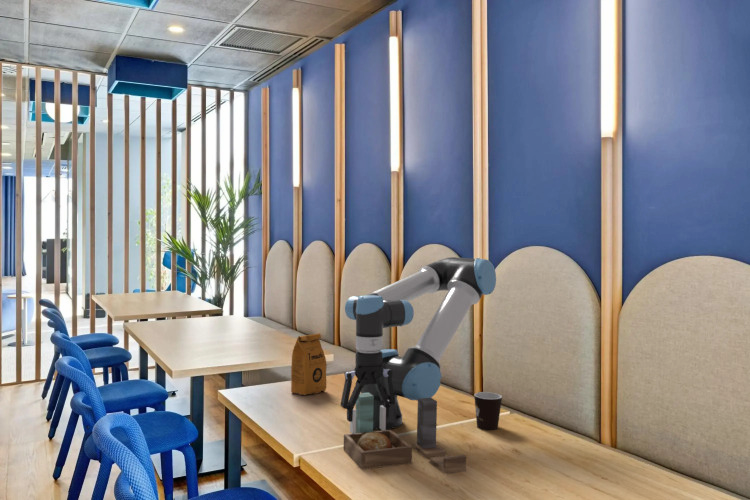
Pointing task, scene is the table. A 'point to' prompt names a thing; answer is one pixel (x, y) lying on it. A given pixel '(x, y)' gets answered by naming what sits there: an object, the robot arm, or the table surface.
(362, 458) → the open wooden tray
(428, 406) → the grey tall block
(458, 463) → the strip
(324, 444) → the table surface
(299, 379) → the coffee package
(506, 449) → the table surface
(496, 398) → the coffee mug
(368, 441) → the bread roll
